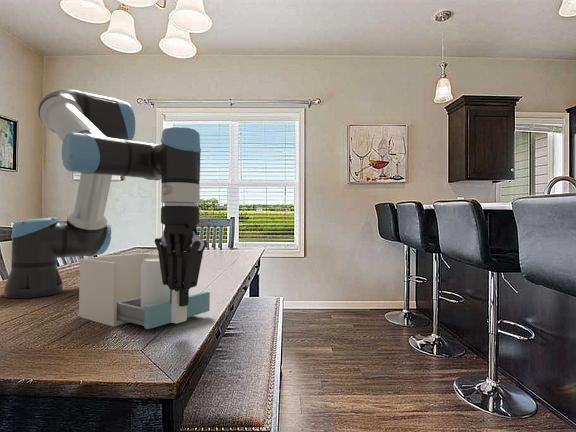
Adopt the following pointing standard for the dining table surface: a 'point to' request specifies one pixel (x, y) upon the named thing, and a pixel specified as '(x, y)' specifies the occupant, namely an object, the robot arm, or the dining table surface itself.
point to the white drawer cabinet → (109, 285)
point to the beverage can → (152, 283)
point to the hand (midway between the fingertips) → (179, 321)
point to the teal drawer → (159, 310)
